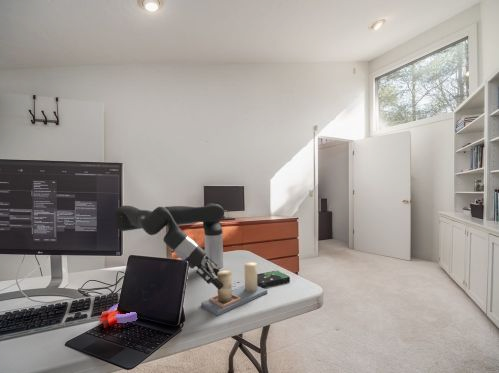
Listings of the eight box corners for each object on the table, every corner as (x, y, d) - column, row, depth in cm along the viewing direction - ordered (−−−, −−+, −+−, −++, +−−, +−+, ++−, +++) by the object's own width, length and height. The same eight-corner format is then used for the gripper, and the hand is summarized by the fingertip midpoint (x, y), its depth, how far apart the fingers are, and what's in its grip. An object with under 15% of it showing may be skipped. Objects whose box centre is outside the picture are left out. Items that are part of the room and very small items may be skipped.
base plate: (201, 305, 92) (200, 274, 92) (250, 285, 108) (249, 259, 108) (217, 315, 85) (216, 282, 84) (267, 292, 101) (266, 264, 101)
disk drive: (260, 290, 105) (290, 282, 112) (260, 283, 105) (290, 276, 112) (249, 281, 114) (277, 275, 121) (249, 275, 114) (277, 269, 121)
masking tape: (106, 333, 77) (105, 320, 77) (108, 315, 87) (108, 304, 87) (147, 323, 82) (147, 311, 82) (145, 307, 92) (145, 296, 92)
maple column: (215, 300, 93) (214, 272, 93) (226, 295, 96) (225, 269, 96) (223, 304, 89) (222, 276, 89) (234, 300, 93) (233, 272, 93)
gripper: (187, 254, 99) (217, 282, 100) (177, 266, 85) (213, 299, 85) (200, 240, 99) (230, 268, 100) (193, 249, 85) (228, 282, 85)
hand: (222, 282), depth 92 cm, fingers open, 8 cm apart
